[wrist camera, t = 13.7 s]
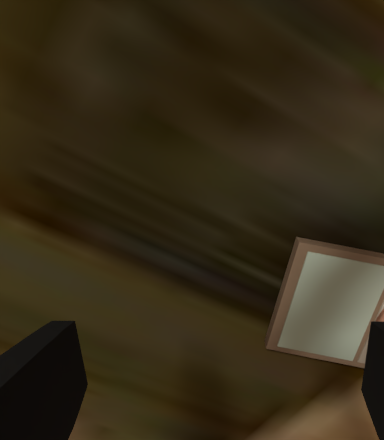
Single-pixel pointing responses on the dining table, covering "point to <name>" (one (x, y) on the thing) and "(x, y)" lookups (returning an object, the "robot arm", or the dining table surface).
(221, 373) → the dining table surface
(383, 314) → the pawn
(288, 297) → the board
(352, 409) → the dining table surface
